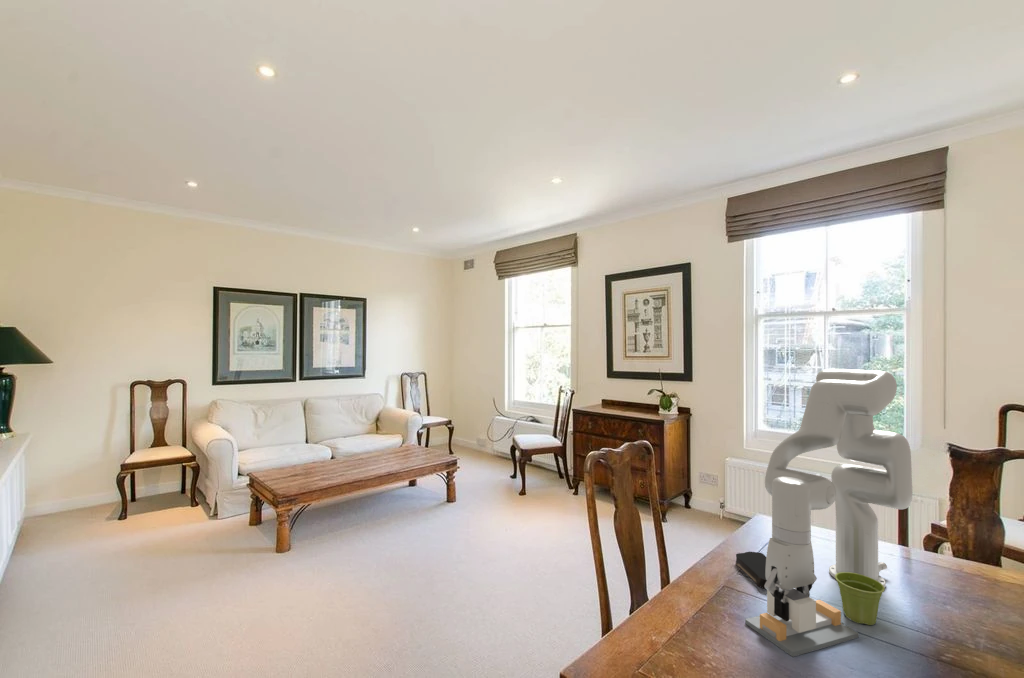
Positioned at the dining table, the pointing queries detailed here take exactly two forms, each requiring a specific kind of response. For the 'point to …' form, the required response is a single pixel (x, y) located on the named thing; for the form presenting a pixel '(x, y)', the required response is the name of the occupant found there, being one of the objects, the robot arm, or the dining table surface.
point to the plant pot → (859, 596)
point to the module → (797, 609)
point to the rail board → (807, 641)
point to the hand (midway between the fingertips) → (790, 614)
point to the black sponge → (753, 566)
